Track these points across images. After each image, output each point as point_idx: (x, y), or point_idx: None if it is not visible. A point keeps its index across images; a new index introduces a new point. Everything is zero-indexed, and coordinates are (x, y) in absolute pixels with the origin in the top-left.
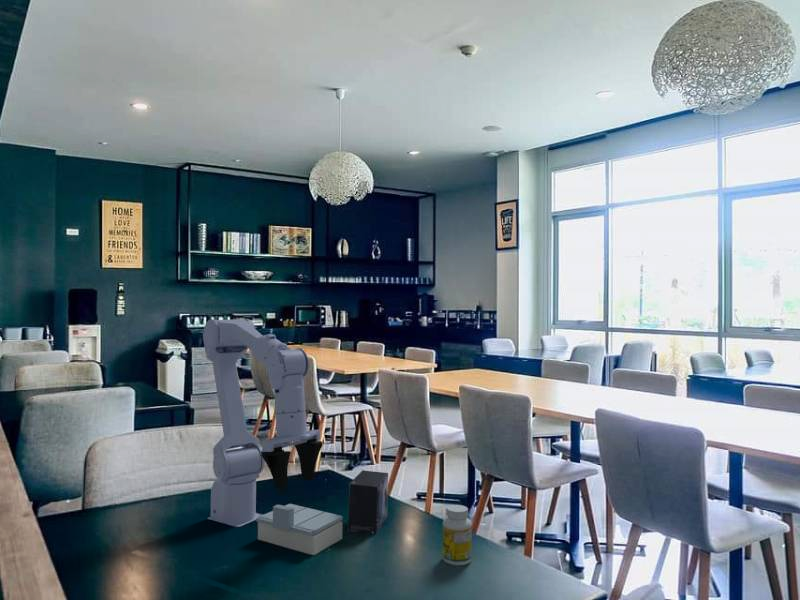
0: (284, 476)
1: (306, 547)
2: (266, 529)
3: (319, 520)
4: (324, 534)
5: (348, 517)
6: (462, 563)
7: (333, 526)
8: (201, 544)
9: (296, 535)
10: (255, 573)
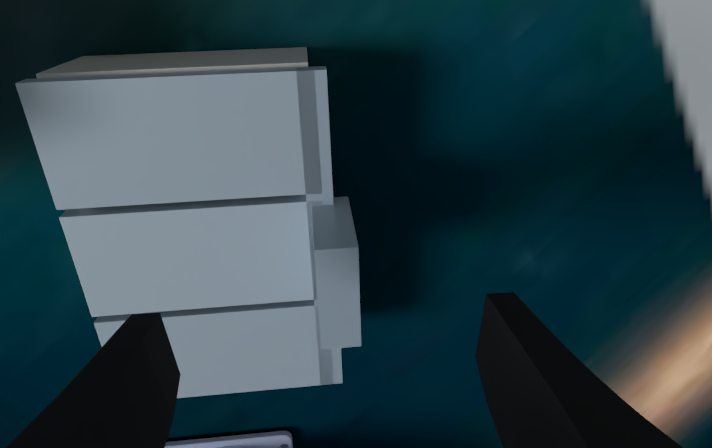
0: (581, 363)
1: None
2: None
3: (169, 149)
4: (213, 63)
5: None
6: None
7: (126, 69)
8: (435, 418)
9: None
10: (526, 143)
